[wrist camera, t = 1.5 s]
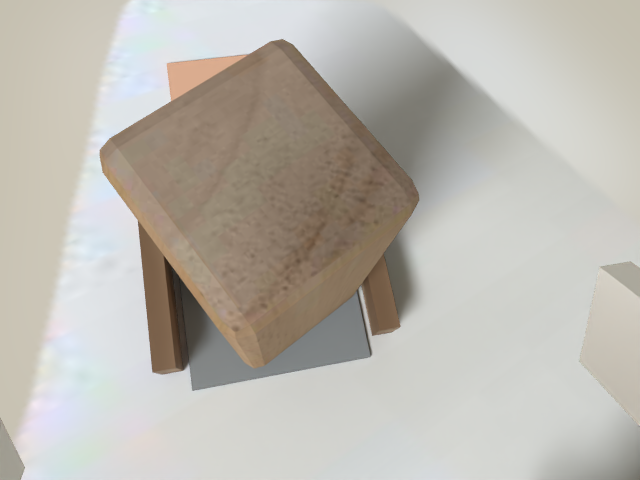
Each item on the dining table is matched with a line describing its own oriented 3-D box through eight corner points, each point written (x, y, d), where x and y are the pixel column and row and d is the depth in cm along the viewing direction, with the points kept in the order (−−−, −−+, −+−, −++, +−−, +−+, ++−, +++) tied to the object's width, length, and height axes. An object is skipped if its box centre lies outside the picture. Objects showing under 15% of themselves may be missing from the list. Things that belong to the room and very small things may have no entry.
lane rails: (356, 175, 43) (362, 159, 40) (391, 332, 40) (400, 326, 37) (144, 205, 41) (135, 190, 38) (162, 374, 38) (152, 372, 35)
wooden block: (174, 267, 40) (80, 143, 21) (280, 194, 42) (284, 21, 23) (254, 375, 38) (231, 347, 19) (360, 291, 40) (435, 192, 21)
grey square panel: (331, 173, 43) (331, 172, 43) (370, 357, 39) (370, 356, 39) (170, 196, 41) (169, 195, 41) (192, 390, 37) (192, 390, 37)
